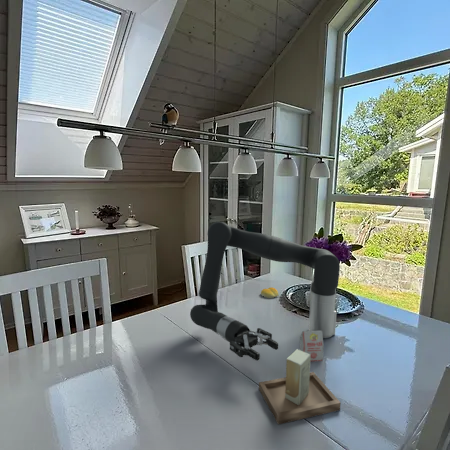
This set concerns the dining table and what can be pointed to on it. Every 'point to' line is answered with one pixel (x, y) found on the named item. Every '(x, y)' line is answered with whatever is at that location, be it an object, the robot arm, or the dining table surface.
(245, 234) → the robot arm
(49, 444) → the dining table surface
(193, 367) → the dining table surface
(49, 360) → the dining table surface
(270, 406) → the walnut tray
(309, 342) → the white boxy package
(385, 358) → the dining table surface
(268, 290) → the bread roll
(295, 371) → the skincare box
